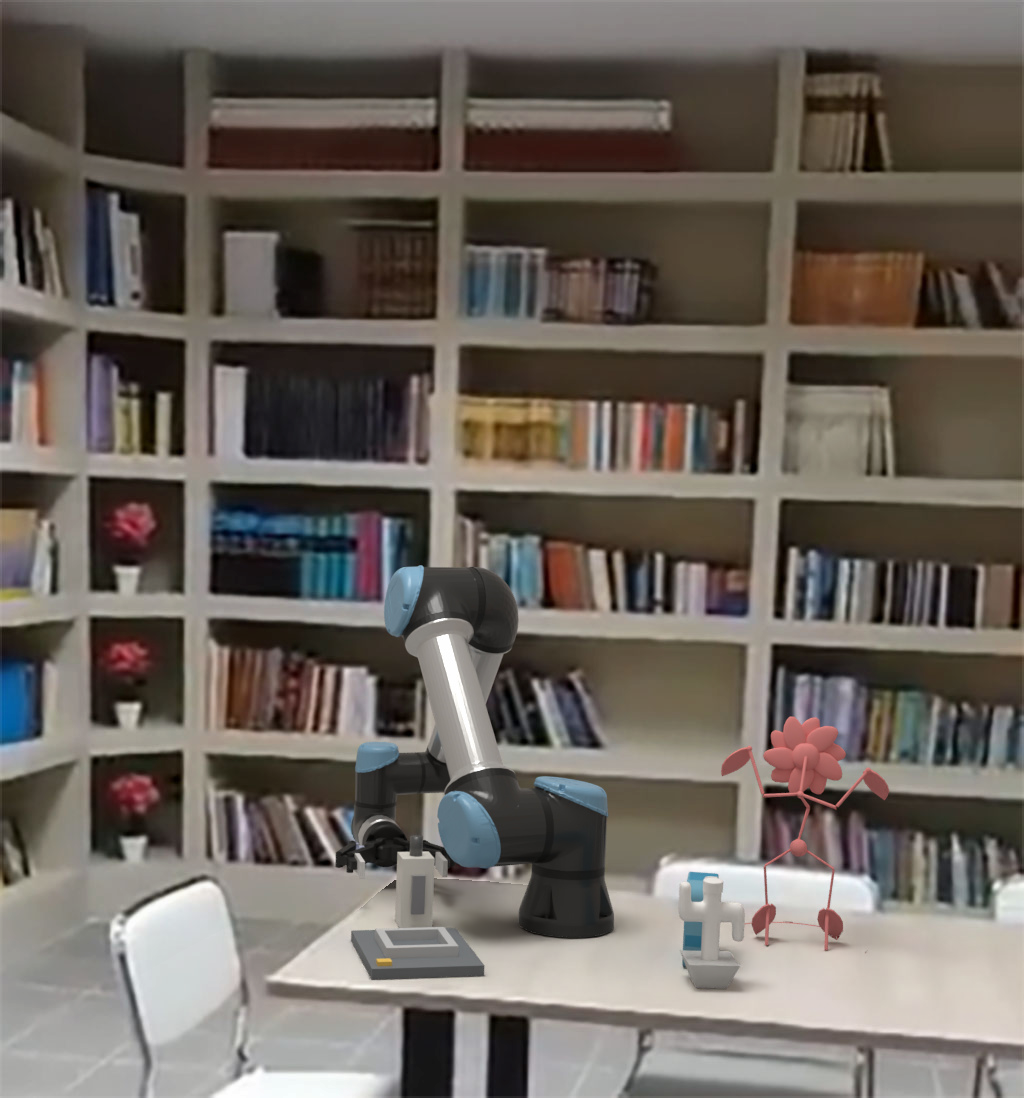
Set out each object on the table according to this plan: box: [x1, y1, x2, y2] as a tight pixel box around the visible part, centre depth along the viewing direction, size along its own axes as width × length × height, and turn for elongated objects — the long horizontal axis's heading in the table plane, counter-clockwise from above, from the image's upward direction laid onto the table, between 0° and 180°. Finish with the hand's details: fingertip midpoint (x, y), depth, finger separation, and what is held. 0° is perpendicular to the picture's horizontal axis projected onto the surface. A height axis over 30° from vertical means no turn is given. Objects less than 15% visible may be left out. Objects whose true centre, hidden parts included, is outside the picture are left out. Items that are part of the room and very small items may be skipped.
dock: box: [350, 926, 485, 981], centre depth 241 cm, size 16×20×3 cm
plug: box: [394, 834, 435, 928], centre depth 259 cm, size 5×6×14 cm
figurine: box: [678, 876, 746, 989], centre depth 234 cm, size 7×9×15 cm
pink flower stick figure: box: [720, 716, 890, 954], centre depth 260 cm, size 15×26×35 cm, turn 81°
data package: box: [681, 871, 720, 968], centre depth 246 cm, size 12×4×12 cm, turn 171°
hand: (404, 869), depth 268 cm, fingers open, 13 cm apart
